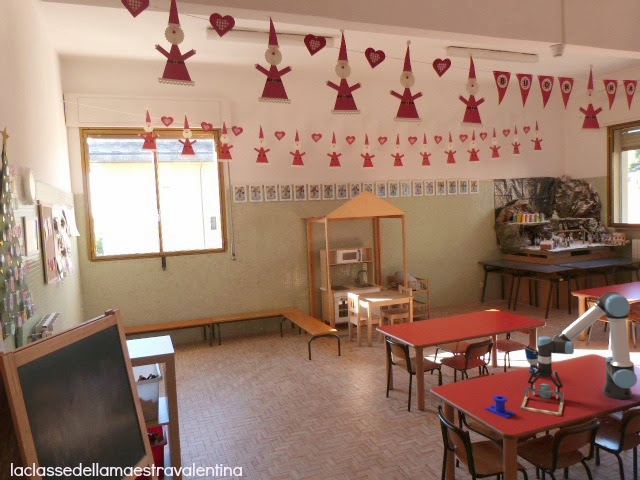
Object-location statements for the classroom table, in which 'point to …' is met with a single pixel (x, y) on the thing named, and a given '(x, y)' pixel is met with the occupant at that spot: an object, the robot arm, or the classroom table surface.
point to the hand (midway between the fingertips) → (545, 396)
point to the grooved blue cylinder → (545, 387)
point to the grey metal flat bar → (545, 392)
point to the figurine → (532, 359)
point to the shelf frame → (541, 410)
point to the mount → (500, 407)
